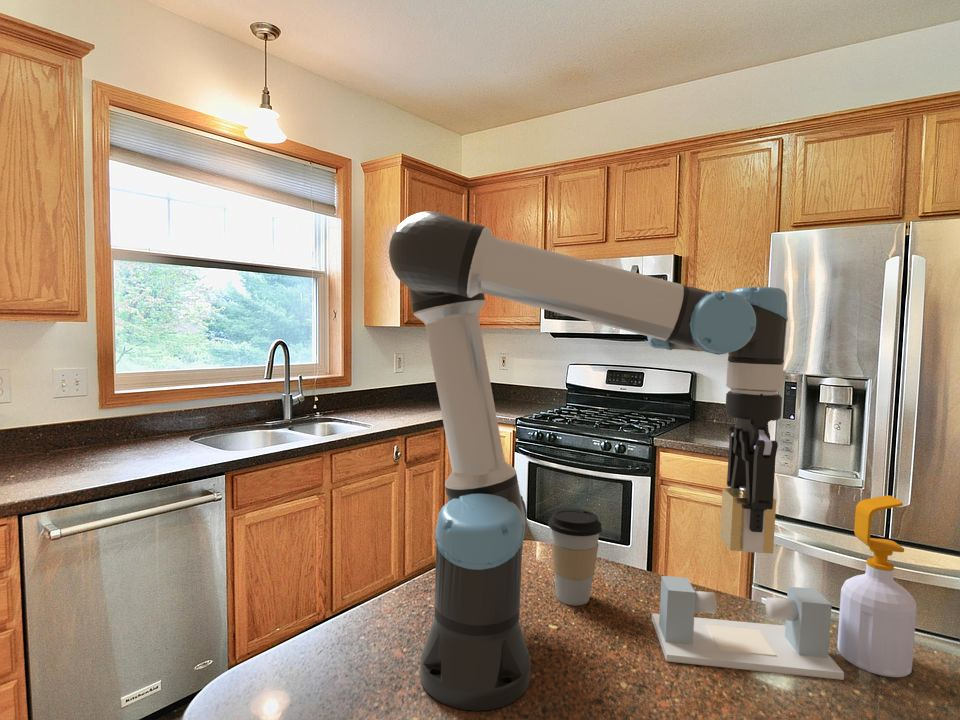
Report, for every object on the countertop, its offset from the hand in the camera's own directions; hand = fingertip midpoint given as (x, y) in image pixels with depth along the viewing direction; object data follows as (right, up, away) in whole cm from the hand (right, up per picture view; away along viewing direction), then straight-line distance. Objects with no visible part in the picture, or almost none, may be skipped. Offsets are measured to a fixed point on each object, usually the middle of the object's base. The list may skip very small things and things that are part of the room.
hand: (745, 543), depth 84 cm
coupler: (0, 0, 0) cm, 0 cm away
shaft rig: (-1, -16, +1) cm, 16 cm away
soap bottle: (+18, -17, -2) cm, 25 cm away
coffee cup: (-24, -15, +15) cm, 32 cm away
